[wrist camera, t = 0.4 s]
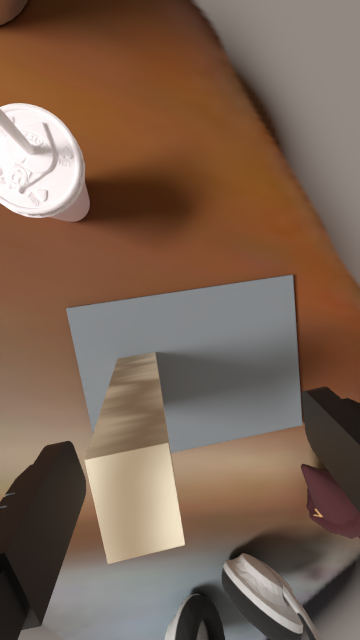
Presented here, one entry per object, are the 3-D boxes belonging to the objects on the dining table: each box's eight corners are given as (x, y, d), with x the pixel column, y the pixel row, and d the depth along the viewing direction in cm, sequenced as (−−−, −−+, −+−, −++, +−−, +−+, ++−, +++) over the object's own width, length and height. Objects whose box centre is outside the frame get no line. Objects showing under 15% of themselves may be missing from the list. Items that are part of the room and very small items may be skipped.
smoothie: (115, 187, 26) (83, 93, 13) (87, 248, 27) (29, 219, 13) (50, 152, 25) (-61, 4, 11) (23, 216, 26) (-114, 148, 12)
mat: (101, 464, 31) (100, 467, 30) (67, 307, 28) (66, 308, 27) (299, 422, 33) (302, 425, 33) (290, 274, 30) (292, 274, 29)
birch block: (124, 411, 30) (102, 565, 14) (114, 359, 28) (78, 461, 13) (163, 404, 30) (184, 544, 14) (155, 352, 29) (168, 442, 13)
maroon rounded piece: (286, 514, 27) (357, 575, 32) (352, 480, 26) (419, 550, 30) (266, 456, 34) (327, 513, 38) (317, 425, 32) (376, 489, 36)
